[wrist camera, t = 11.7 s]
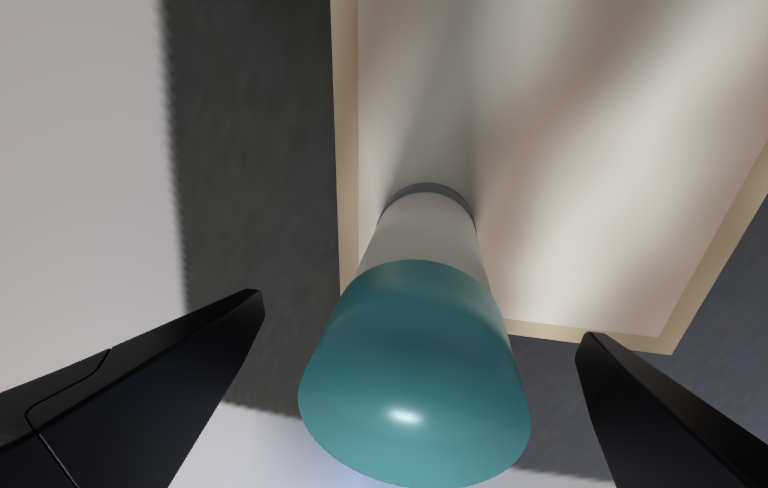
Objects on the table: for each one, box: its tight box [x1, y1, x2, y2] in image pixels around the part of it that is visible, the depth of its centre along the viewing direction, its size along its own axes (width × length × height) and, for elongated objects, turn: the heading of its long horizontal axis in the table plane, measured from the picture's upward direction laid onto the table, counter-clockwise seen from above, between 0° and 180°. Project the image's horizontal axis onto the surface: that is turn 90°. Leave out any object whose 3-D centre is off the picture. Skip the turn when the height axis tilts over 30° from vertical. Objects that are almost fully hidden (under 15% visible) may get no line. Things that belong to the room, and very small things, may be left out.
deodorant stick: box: [298, 182, 531, 488], centre depth 10 cm, size 4×4×9 cm
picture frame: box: [330, 0, 768, 355], centre depth 12 cm, size 16×20×1 cm
